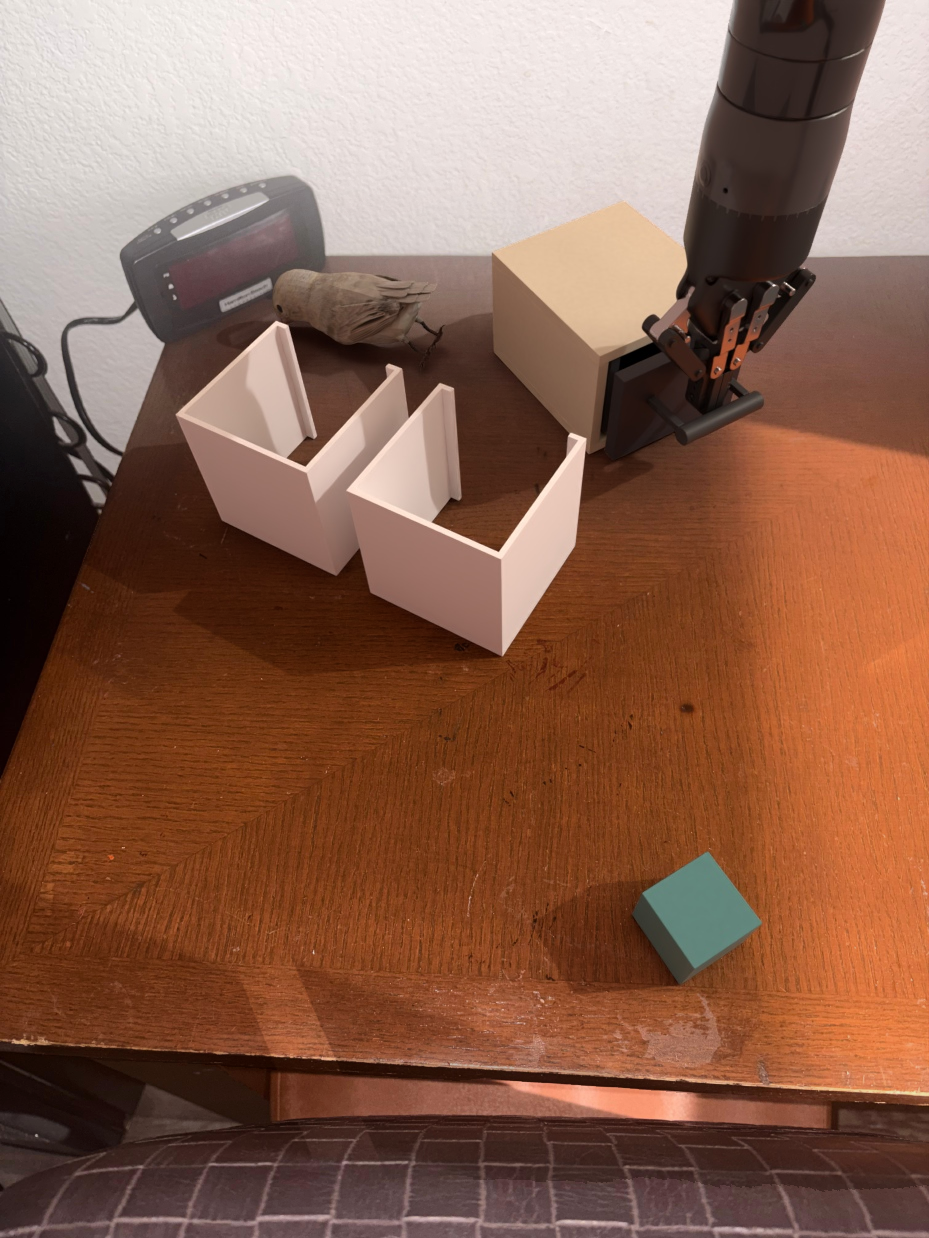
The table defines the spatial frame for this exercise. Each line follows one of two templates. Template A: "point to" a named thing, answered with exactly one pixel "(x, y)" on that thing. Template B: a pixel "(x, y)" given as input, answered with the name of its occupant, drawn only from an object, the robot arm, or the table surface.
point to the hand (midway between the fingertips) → (703, 404)
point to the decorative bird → (353, 306)
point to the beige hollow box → (581, 307)
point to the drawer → (661, 403)
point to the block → (694, 917)
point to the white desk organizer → (374, 493)
